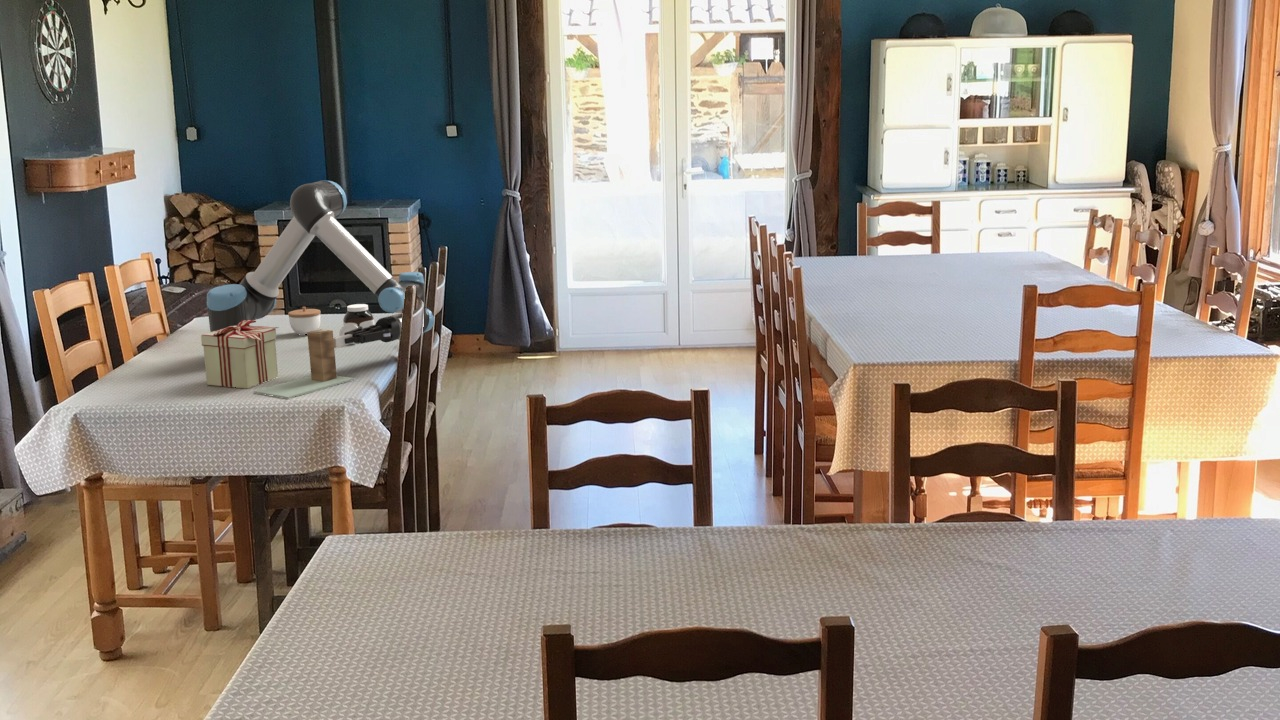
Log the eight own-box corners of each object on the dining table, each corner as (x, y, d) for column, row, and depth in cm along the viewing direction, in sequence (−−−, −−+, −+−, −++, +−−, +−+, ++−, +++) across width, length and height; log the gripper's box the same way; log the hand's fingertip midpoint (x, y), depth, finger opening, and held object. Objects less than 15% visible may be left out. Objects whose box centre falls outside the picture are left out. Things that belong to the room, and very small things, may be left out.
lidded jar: (328, 332, 423) (326, 305, 421) (305, 338, 414) (302, 310, 412) (307, 329, 429) (304, 303, 427) (283, 335, 420) (281, 308, 418)
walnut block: (324, 376, 355) (320, 328, 352) (336, 378, 353) (332, 329, 350) (311, 380, 351) (307, 331, 348) (323, 381, 349) (319, 332, 346)
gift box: (260, 389, 344) (254, 330, 341) (203, 387, 349) (196, 328, 346) (292, 375, 360) (287, 318, 357) (237, 373, 365) (231, 316, 362)
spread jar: (374, 336, 413) (371, 302, 411) (378, 343, 403) (375, 308, 400) (337, 340, 410) (334, 305, 407) (340, 346, 399) (337, 311, 397)
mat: (320, 374, 360) (320, 373, 360) (353, 380, 352) (353, 378, 352) (254, 393, 341) (254, 391, 340) (288, 399, 333) (288, 397, 333)
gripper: (408, 342, 370) (351, 357, 351) (377, 338, 377) (319, 353, 358) (407, 317, 368) (349, 332, 349) (376, 314, 375) (317, 328, 356)
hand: (334, 343), depth 353 cm, fingers closed
